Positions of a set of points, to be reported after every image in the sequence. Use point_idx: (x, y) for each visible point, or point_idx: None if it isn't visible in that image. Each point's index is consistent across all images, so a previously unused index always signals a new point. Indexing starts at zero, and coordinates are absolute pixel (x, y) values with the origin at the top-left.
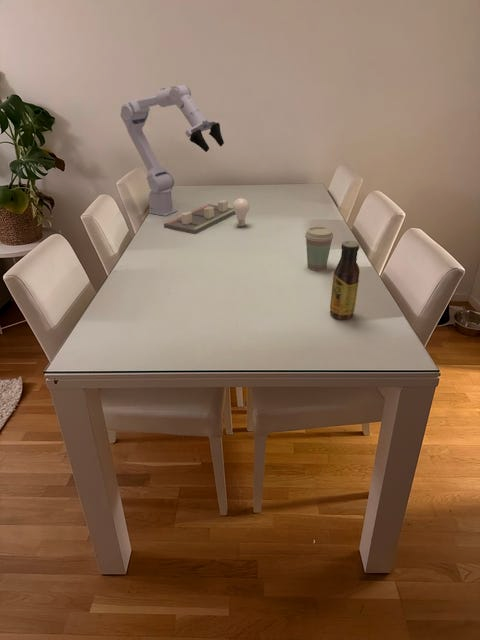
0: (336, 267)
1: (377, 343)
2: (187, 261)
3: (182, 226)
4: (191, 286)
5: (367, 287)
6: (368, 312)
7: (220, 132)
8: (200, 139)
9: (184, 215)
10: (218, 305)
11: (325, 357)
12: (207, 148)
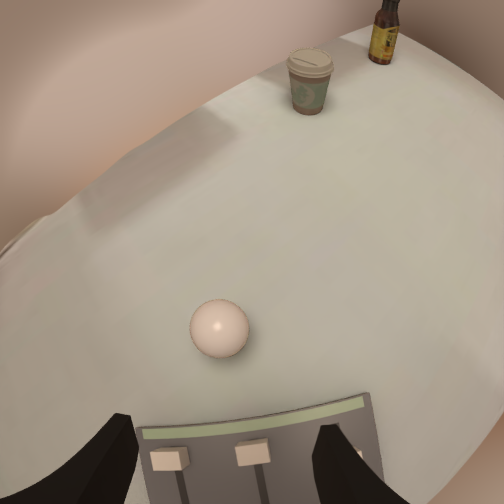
0: (396, 20)
1: None
2: (468, 266)
3: (370, 444)
4: (492, 193)
5: None
6: (354, 49)
7: (58, 471)
8: (396, 497)
9: (361, 457)
10: (478, 140)
11: (431, 56)
12: (339, 431)
